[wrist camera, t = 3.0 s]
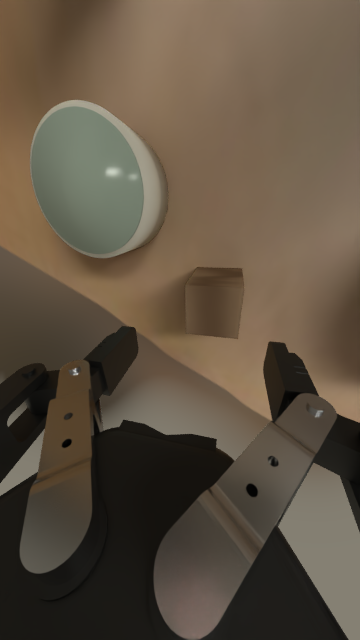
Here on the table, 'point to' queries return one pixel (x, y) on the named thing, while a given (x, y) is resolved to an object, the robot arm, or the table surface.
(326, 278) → the table surface
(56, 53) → the table surface
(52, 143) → the ceramic bowl
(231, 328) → the walnut block
